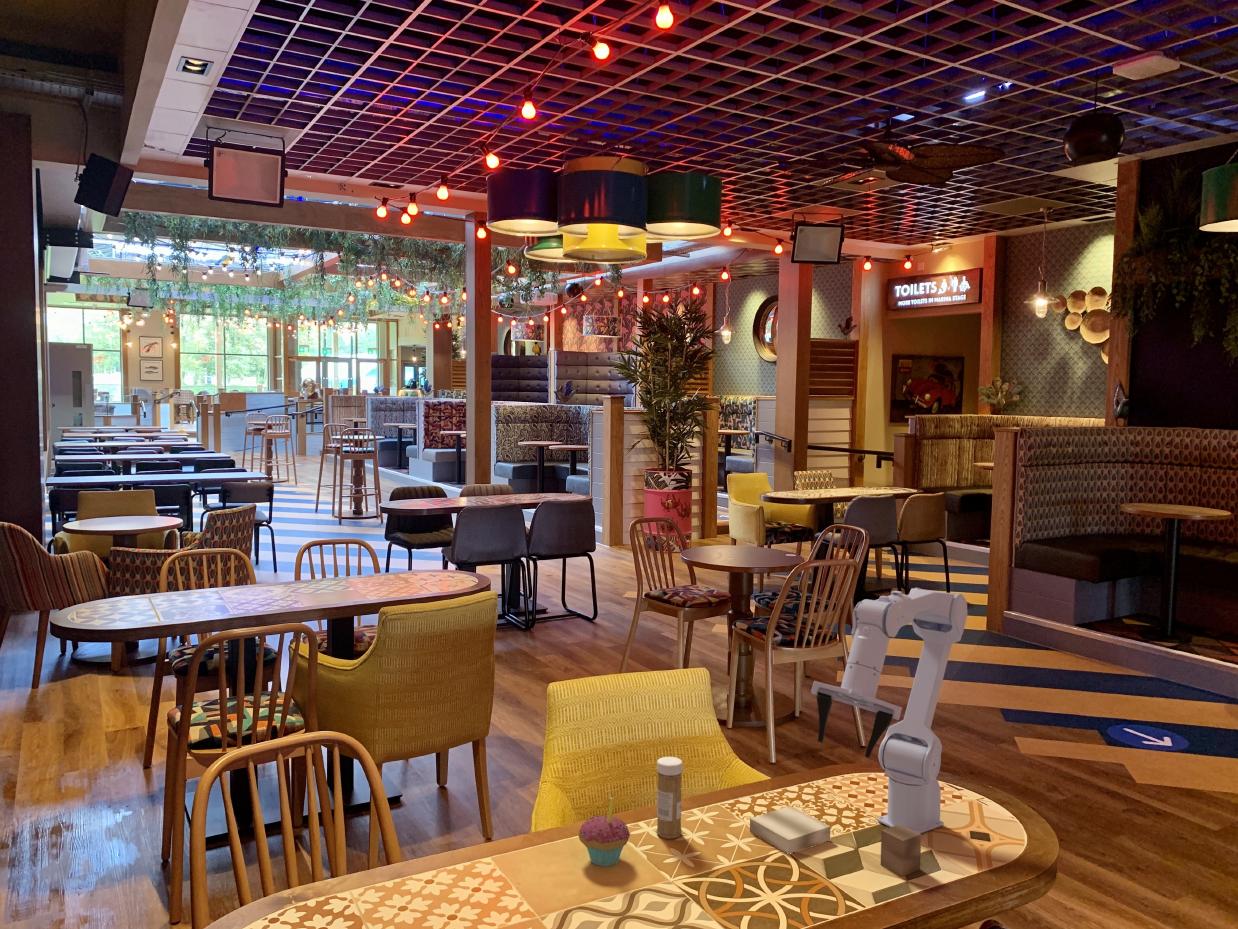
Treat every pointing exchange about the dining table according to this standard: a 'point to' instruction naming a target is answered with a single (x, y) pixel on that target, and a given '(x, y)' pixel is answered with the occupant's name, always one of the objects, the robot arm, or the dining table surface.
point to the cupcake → (604, 837)
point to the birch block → (790, 829)
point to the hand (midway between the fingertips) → (843, 749)
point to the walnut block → (900, 849)
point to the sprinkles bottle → (669, 797)
